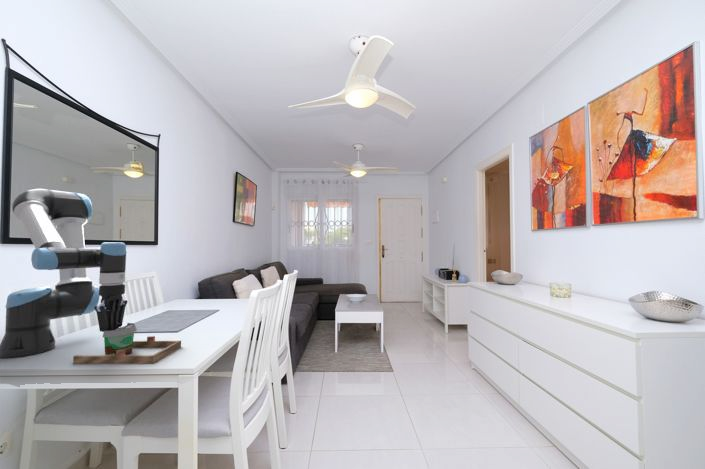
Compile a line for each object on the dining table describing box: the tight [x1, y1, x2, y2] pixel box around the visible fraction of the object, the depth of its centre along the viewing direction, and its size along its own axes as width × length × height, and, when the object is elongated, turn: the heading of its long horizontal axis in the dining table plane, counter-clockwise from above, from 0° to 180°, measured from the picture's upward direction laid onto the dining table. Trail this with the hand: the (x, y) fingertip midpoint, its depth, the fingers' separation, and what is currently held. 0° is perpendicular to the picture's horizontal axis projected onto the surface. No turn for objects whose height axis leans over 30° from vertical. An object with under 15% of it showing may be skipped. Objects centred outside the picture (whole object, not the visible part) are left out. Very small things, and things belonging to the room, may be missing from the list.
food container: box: [102, 322, 137, 355], centre depth 113 cm, size 12×6×10 cm, turn 0°
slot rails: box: [72, 335, 182, 365], centre depth 112 cm, size 27×17×4 cm, turn 91°
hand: (110, 349), depth 112 cm, fingers closed
